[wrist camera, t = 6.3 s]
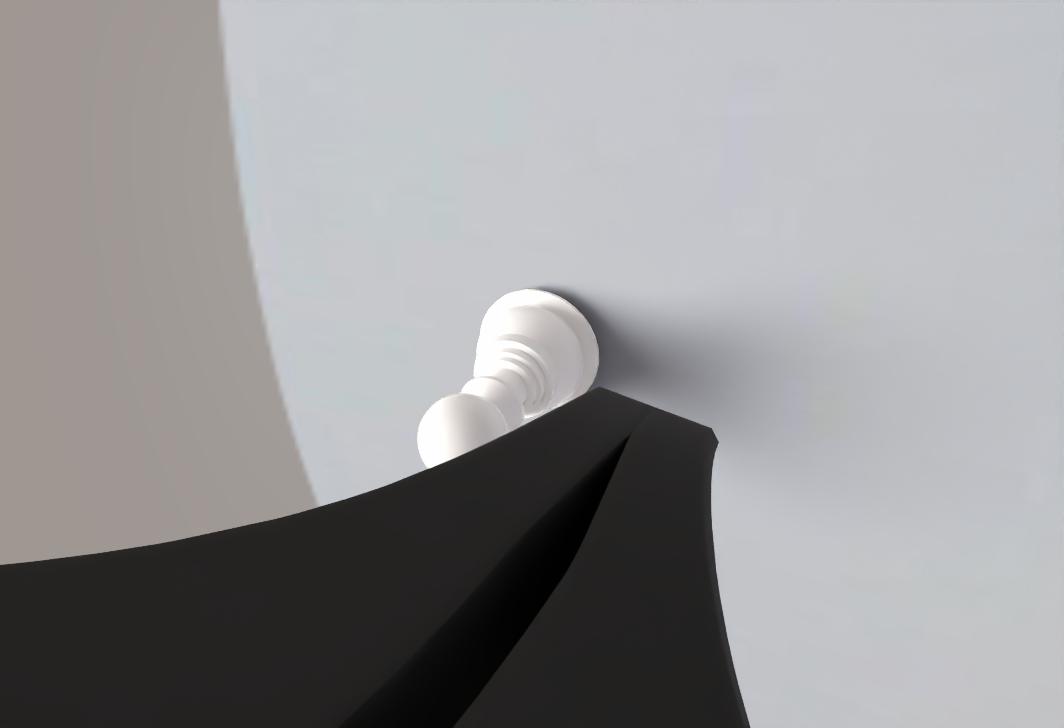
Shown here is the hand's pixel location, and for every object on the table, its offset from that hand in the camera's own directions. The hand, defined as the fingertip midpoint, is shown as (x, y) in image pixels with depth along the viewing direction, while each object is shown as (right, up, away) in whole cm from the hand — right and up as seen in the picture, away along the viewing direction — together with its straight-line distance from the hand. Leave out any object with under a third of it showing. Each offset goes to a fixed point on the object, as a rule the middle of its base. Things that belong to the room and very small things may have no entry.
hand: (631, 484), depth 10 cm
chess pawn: (-1, +2, +11) cm, 11 cm away
